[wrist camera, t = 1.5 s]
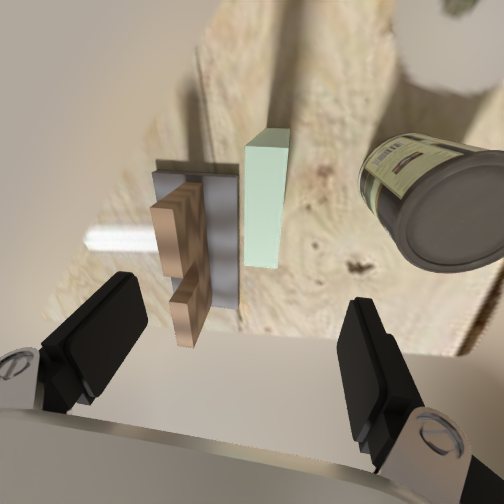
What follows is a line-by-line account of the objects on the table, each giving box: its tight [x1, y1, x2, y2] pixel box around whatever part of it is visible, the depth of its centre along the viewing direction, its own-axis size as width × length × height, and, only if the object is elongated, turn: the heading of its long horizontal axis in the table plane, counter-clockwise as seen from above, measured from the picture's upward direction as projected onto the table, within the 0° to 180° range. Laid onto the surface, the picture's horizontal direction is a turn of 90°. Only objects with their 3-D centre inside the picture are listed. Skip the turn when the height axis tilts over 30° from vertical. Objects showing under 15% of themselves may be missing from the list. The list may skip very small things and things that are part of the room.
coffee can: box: [358, 133, 504, 273], centre depth 25 cm, size 10×10×14 cm
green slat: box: [244, 128, 290, 269], centre depth 26 cm, size 3×10×16 cm, turn 178°
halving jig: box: [150, 170, 239, 348], centre depth 36 cm, size 24×12×12 cm, turn 178°
